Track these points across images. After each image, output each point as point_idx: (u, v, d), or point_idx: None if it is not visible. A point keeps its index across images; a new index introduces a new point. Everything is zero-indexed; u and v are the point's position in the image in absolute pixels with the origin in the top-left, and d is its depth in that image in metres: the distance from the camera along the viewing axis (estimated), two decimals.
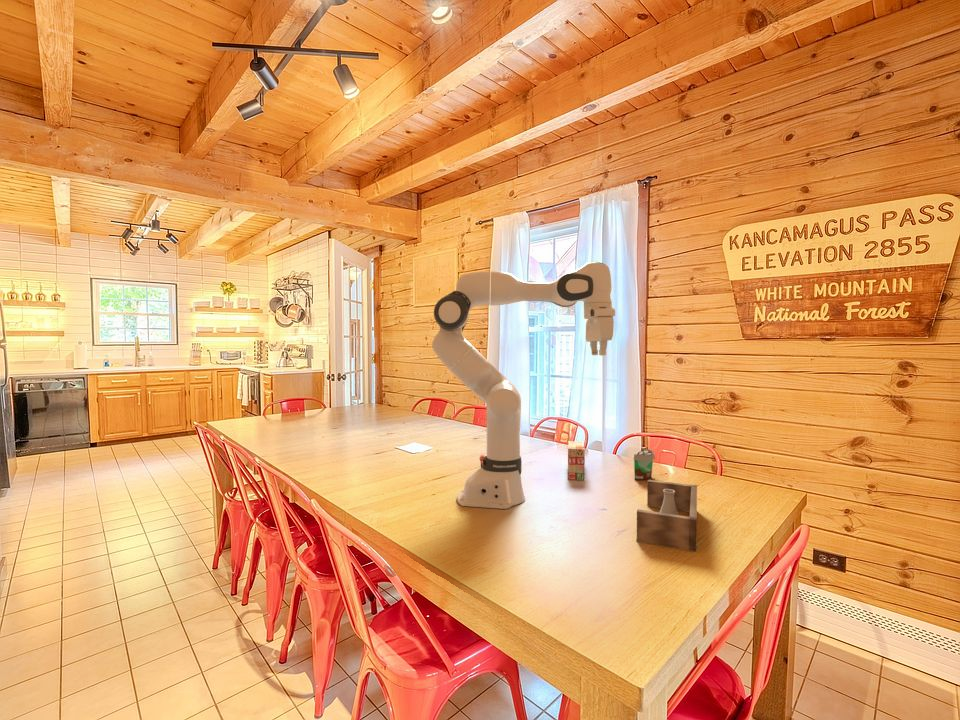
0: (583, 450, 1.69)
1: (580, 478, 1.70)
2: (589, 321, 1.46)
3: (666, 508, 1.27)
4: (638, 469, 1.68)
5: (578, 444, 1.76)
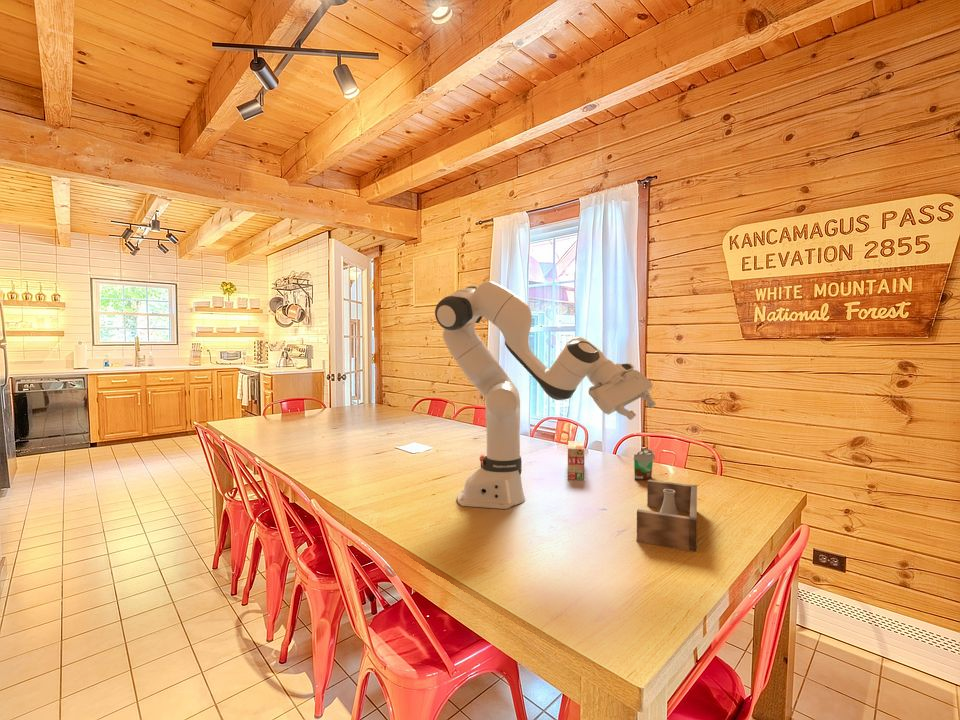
0: (583, 450, 1.69)
1: (580, 478, 1.70)
2: (621, 377, 1.31)
3: (666, 508, 1.27)
4: (638, 469, 1.68)
5: (578, 444, 1.76)
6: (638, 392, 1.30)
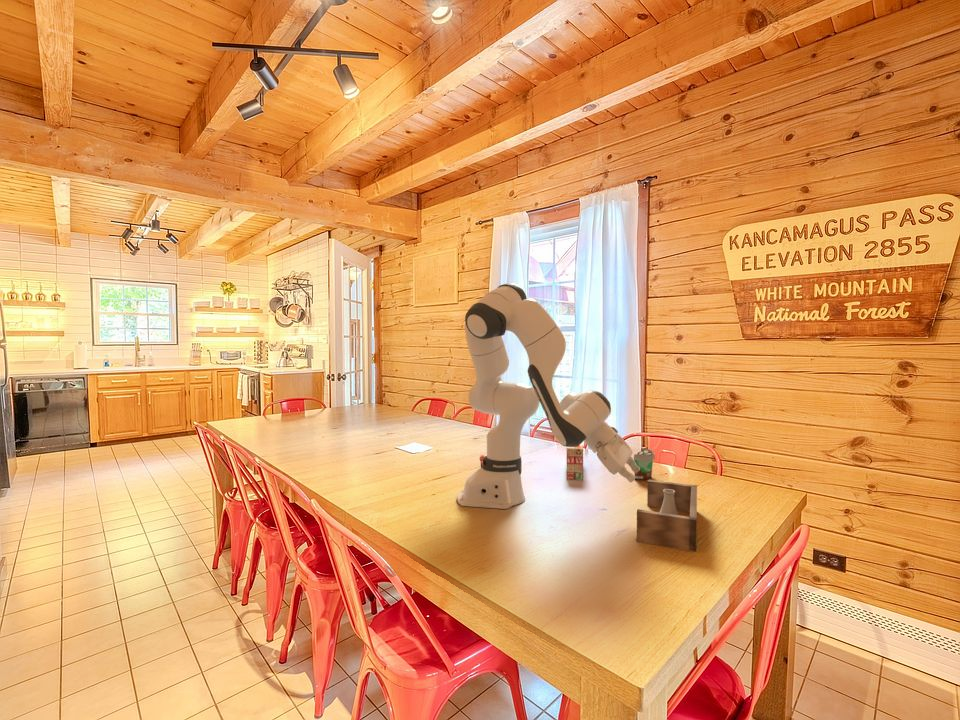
0: (582, 450, 1.70)
1: (579, 478, 1.70)
2: (616, 439, 1.34)
3: (666, 508, 1.27)
4: None
5: None
6: (628, 456, 1.34)
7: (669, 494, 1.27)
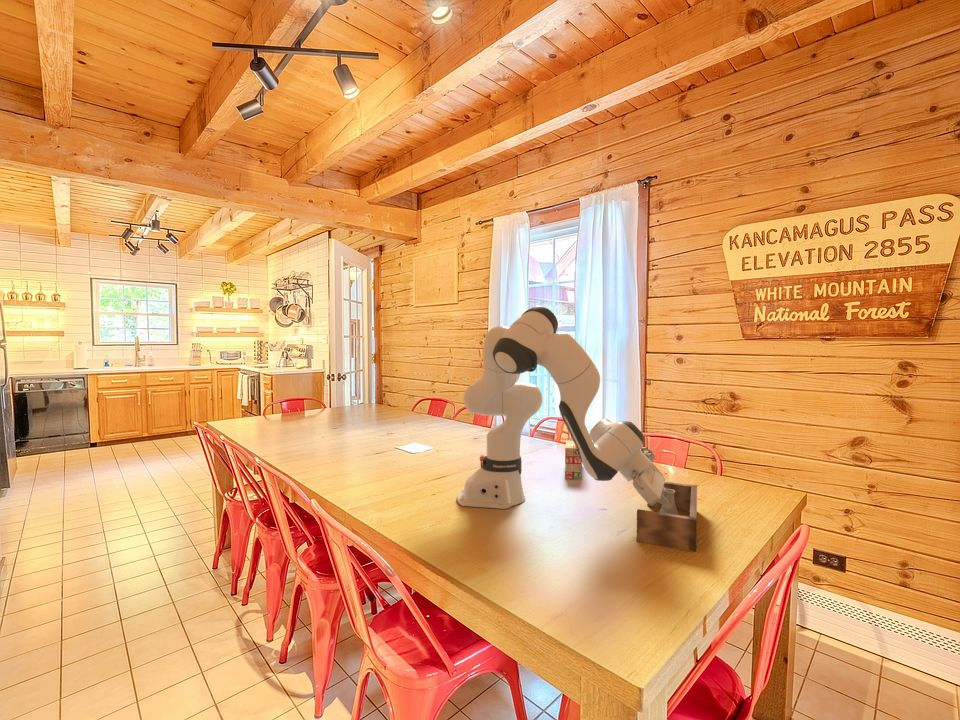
0: None
1: (577, 477, 1.71)
2: (650, 467, 1.31)
3: None
4: None
5: None
6: (663, 484, 1.31)
7: (669, 494, 1.27)
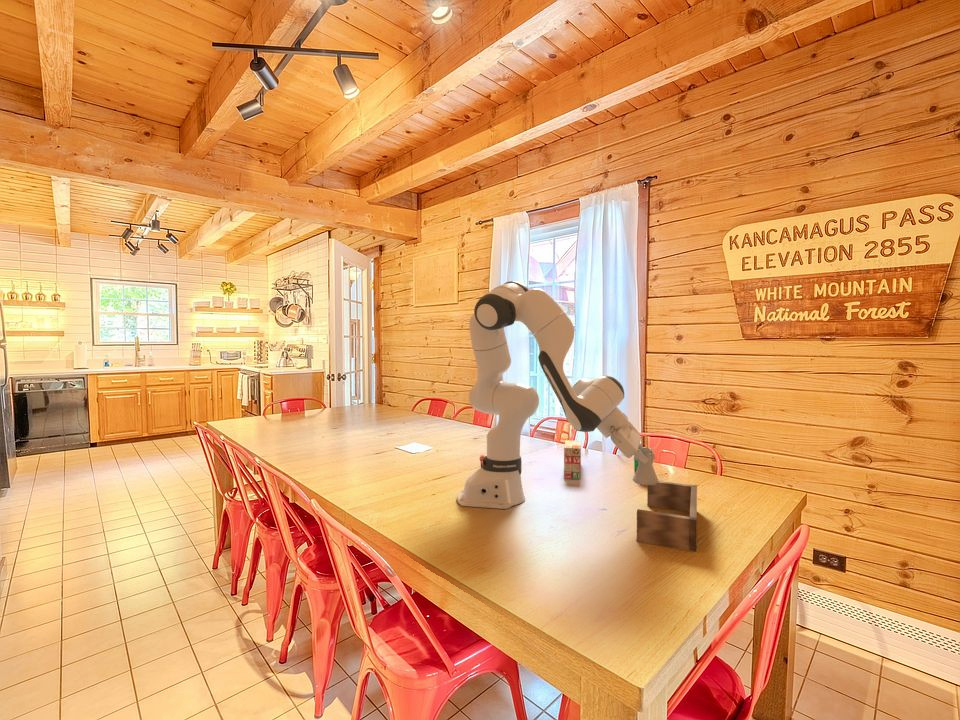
0: (579, 449, 1.70)
1: (576, 477, 1.71)
2: None
3: (643, 465, 1.31)
4: None
5: (575, 443, 1.77)
6: (639, 440, 1.35)
7: (646, 451, 1.31)
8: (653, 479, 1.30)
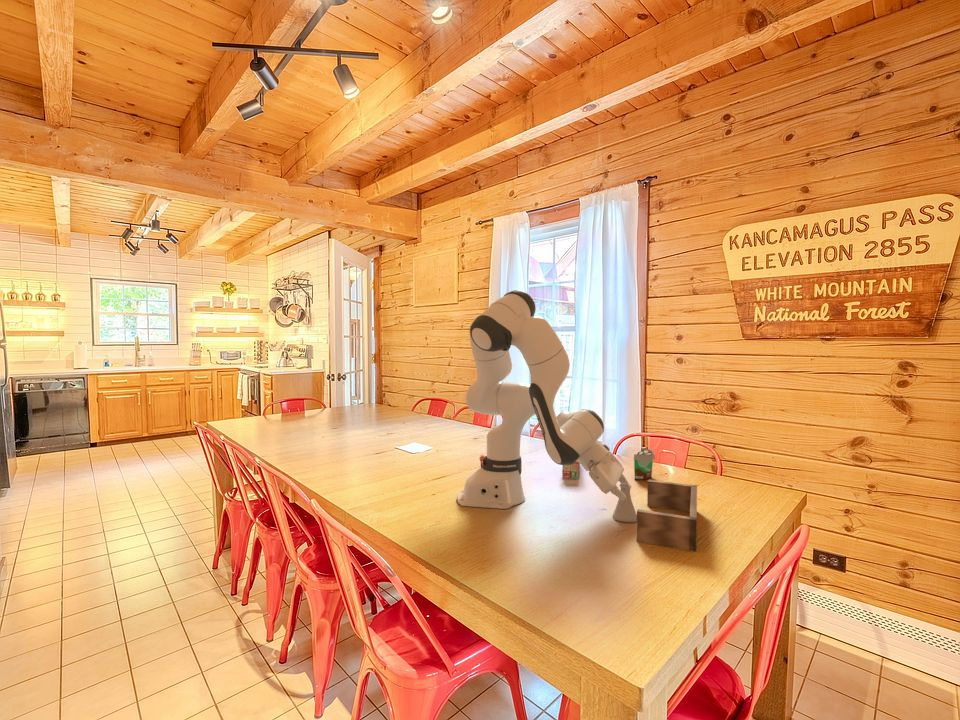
0: None
1: (574, 476, 1.72)
2: (608, 457, 1.36)
3: (622, 502, 1.32)
4: (638, 469, 1.68)
5: None
6: (620, 474, 1.36)
7: (625, 488, 1.32)
8: (632, 516, 1.31)
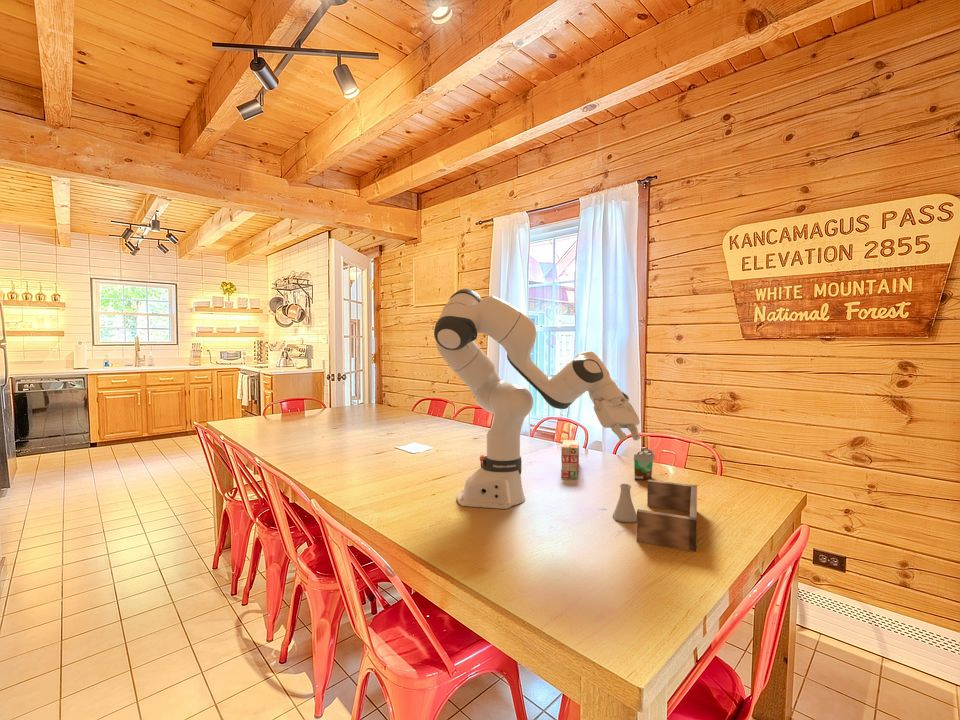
0: (576, 449, 1.71)
1: (573, 476, 1.72)
2: (621, 402, 1.35)
3: (622, 502, 1.32)
4: (638, 469, 1.68)
5: (572, 443, 1.78)
6: (630, 421, 1.34)
7: (625, 488, 1.32)
8: (632, 516, 1.31)
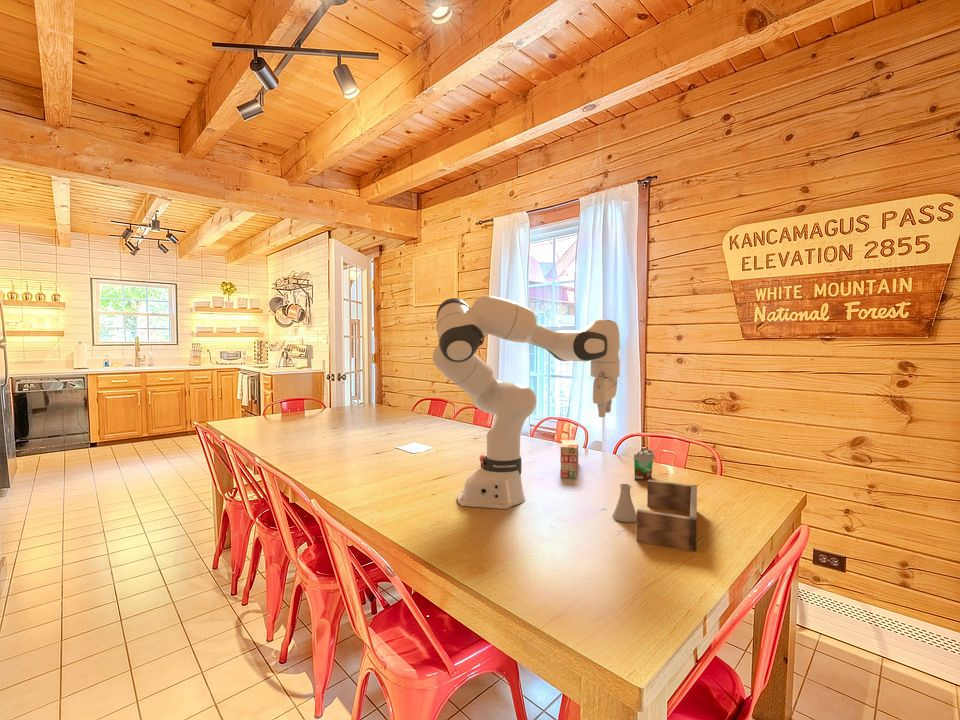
0: (575, 448, 1.72)
1: (572, 476, 1.73)
2: None
3: (622, 502, 1.32)
4: (638, 469, 1.68)
5: (571, 442, 1.79)
6: (612, 397, 1.44)
7: (625, 488, 1.32)
8: (632, 516, 1.31)
